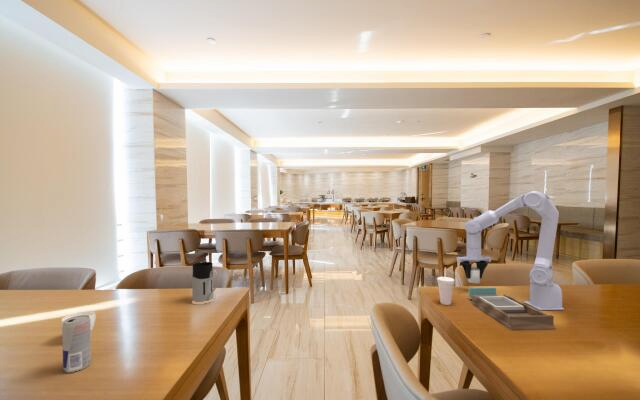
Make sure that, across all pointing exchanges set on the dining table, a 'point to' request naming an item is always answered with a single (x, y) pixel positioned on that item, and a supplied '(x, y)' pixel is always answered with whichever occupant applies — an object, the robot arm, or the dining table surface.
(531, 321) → the dock
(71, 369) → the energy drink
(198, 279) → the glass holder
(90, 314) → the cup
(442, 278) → the smoothie
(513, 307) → the tray
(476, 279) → the disc stack
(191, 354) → the dining table surface
